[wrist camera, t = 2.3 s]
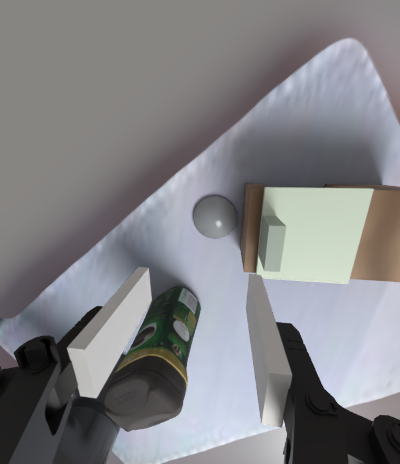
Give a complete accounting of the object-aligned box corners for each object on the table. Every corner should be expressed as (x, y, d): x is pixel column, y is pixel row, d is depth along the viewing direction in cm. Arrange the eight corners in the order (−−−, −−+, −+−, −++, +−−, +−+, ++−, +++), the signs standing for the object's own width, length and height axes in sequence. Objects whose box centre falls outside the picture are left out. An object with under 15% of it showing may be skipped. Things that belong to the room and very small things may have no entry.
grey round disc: (193, 236, 34) (193, 237, 34) (193, 195, 32) (193, 196, 31) (235, 238, 33) (235, 239, 33) (237, 196, 31) (237, 196, 31)
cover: (255, 275, 26) (261, 297, 22) (264, 186, 23) (273, 191, 18) (345, 281, 25) (370, 305, 20) (370, 188, 21) (406, 193, 17)
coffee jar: (172, 329, 41) (131, 449, 24) (146, 302, 40) (83, 408, 22) (208, 308, 38) (193, 427, 21) (183, 278, 37) (143, 379, 19)
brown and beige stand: (240, 249, 34) (243, 272, 27) (245, 183, 30) (250, 188, 23) (362, 256, 31) (402, 282, 24) (382, 184, 28) (435, 191, 21)
